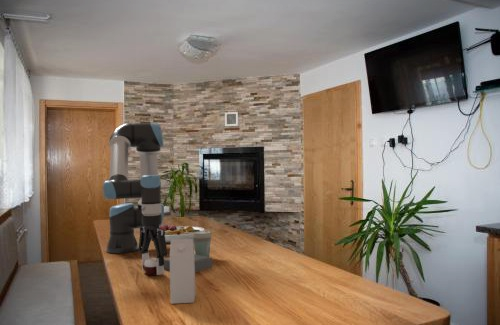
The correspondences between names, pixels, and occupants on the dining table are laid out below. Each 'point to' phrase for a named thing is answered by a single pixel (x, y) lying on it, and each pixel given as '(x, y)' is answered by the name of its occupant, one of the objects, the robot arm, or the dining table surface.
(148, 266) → the cocoa
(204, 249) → the coffee cup
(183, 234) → the bowl
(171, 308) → the dining table surface
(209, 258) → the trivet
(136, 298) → the dining table surface
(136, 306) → the dining table surface
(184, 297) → the milk carton
